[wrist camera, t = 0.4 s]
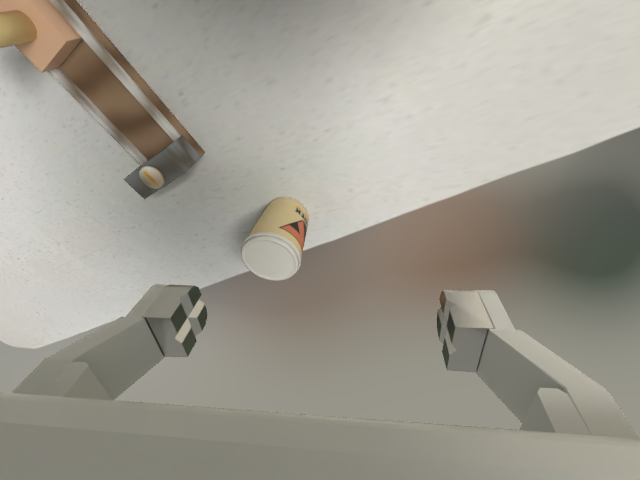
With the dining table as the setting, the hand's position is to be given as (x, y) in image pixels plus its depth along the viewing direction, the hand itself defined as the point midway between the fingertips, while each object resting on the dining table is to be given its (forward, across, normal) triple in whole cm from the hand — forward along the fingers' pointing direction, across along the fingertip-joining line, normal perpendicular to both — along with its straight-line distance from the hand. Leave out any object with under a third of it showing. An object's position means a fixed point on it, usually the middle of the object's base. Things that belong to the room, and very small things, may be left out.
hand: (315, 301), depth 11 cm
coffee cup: (+43, +12, +19) cm, 48 cm away
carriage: (+38, +40, -12) cm, 56 cm away
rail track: (+41, +36, -6) cm, 55 cm away
